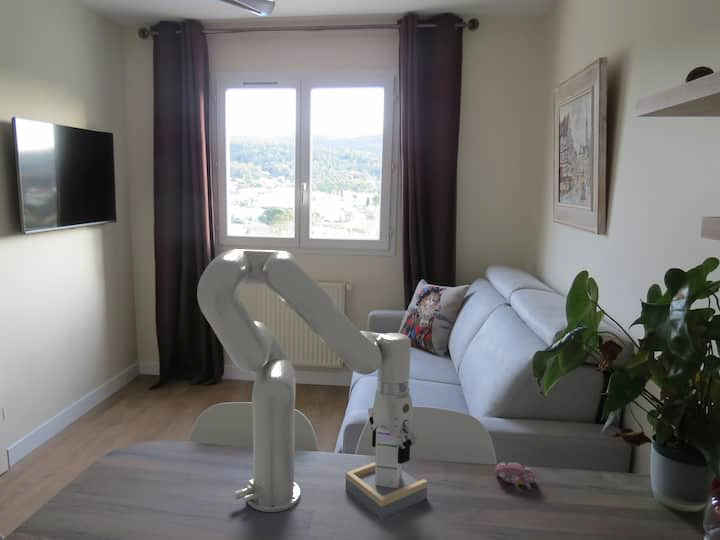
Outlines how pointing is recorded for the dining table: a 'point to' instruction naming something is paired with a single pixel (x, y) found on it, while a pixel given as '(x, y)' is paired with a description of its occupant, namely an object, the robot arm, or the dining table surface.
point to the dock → (384, 491)
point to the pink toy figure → (515, 472)
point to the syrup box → (387, 459)
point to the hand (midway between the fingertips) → (390, 453)
